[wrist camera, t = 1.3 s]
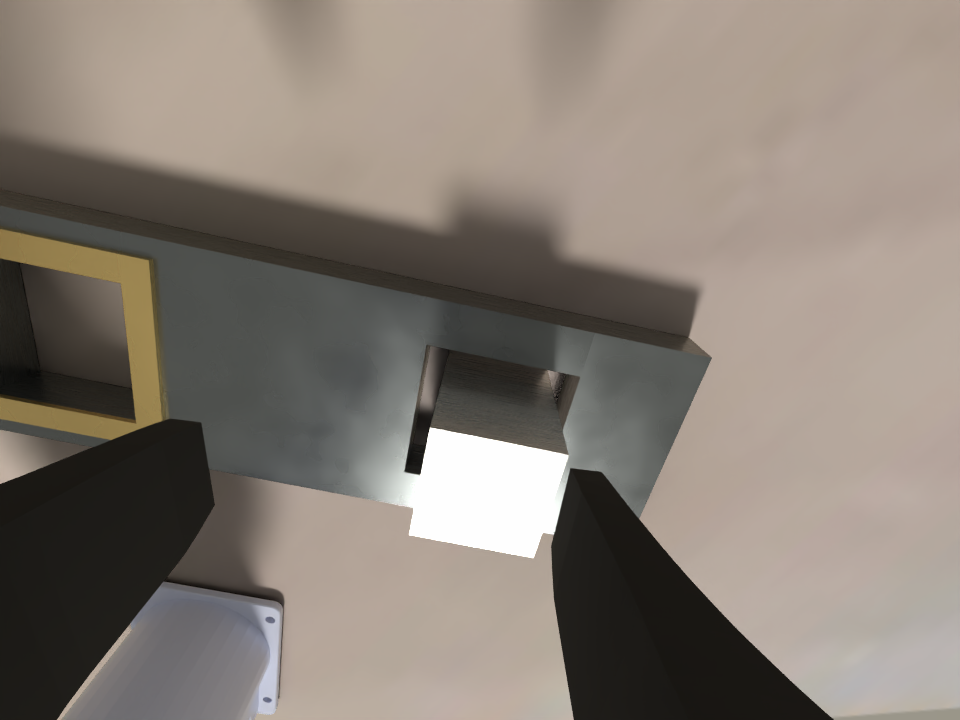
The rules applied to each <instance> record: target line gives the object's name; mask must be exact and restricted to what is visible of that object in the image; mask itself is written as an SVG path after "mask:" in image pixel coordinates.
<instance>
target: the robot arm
mask: <svg viewBox="0 0 960 720" xmlns="http://www.w3.org/2000/svg"><path fill="white" fill-rule="evenodd" d="M214 505H215V504H214V498H213V491H212V485H211V479H210V473H209V467H208V460H207V454H206V448H205V442H204V436H203V429H202V423H201V422H194V421H186V420H178V419H167V420H164V421H161V422H158V423H155V424H152V425H149V426H146V427H143V428H141V429H138V430H135V431H133V432H130V433H128V434H125V435H123V436H120V437H117V438H115V439H112V440H110V441H107V442H105V443H102V444H100V445H98V446H95V447H93V448H90V449H88V450H85V451H83V452H80V453H78V454H75V455H73V456H70V457H68V458H65V459H63V460H60V461H58V462H55V463H53V464H50V465H48V466H45V467H43V468H40V469H38V470H35V471H33V472H30V473H28V474H25V475H23V476H20V477H18V478H15V479H12V480H10V481H7V482H4V483H2V484H0V720H57V719H58V717H59V716H60V714H61V713H62V711H63V710H64V708H65V707H66V705H67V704H68V703H69V701H70V700H71V699H72V697H73V696H74V695H75V693H76V692H77V691H78V689H79V688H80V687H81V685H82V684H83V683H84V681H85V680H86V679H87V677H88V676H89V675H90V673H91V672H92V671H93V670H94V668H95V667H96V666H97V665H98V663H99V662H100V661H101V660H102V658H103V657H104V656H105V655H106V653H107V652H108V651H109V649H110V648H111V647H112V646H113V644H114V643H115V642H116V641H117V639H118V638H119V637H120V636H121V634H122V633H123V632H124V631H125V629H126V628H127V627H128V626H129V624H130V623H131V629H132V631H131V632H130V633H129V635H128V636H127V637H126V638H125V640H124V641H123V642H122V643H121V645H120V646H119V647H118V649H117V650H116V651H115V652H114V654H113V655H112V656H111V657H110V659H109V660H108V661H107V662H106V664H105V665H104V666H103V668H102V669H101V670H100V671H99V673H98V674H97V675H96V676H95V678H94V679H93V680H92V681H91V683H90V684H89V685H88V686H87V688H86V689H85V690H84V692H83V693H82V694H81V695H80V697H79V698H78V699H77V700H76V702H75V703H74V704H73V705H72V707H71V708H70V709H69V711H68V712H67V713H66V714H65V716H64V717H63V718H62V719H61V720H254V719H255V717H256V715H257V713H261V714H267V715H270V714H273V713H275V711H276V709H277V706H278V695H279V675H280V656H281V637H282V617H283V607H282V605H281V604H280V603H278V602H276V601H272V600H266V599H260V598H255V597H249V596H243V595H238V594H232V593H226V592H221V591H215V590H209V589H204V588H198V587H192V586H187V585H181V584H175V583H170V582H164V580H165V579H166V578H167V576H168V575H169V574H170V573H171V571H172V570H173V569H174V567H175V566H176V565H177V564H178V562H179V561H180V560H181V558H182V557H183V556H184V554H185V553H186V551H187V550H188V548H189V547H190V545H191V543H192V542H193V540H194V539H195V537H196V536H197V534H198V532H199V531H200V529H201V527H202V526H203V524H204V522H205V521H206V519H207V517H208V515H209V514H210V512H211V510H212V509H213V507H214ZM551 551H552V574H553V590H554V602H555V608H556V614H557V621H558V627H559V633H560V639H561V645H562V651H563V657H564V663H565V669H566V675H567V681H568V687H569V693H570V699H571V705H572V711H573V717H574V720H833V719H832V718H831V717H830V716H829V715H828V714H827V713H825V712H824V711H823V710H822V709H821V708H820V707H819V706H818V705H816V704H815V703H814V702H813V701H812V700H811V699H810V698H809V697H808V696H807V695H805V694H804V693H803V692H802V691H801V690H800V689H799V688H798V687H797V686H796V685H794V684H793V683H792V682H791V681H790V680H789V679H788V678H787V677H786V676H785V675H784V674H783V673H782V672H781V671H780V670H779V669H778V668H777V667H776V666H774V665H773V664H772V663H771V662H770V661H769V660H768V659H767V658H766V657H765V656H764V655H763V654H762V653H761V652H760V651H759V650H758V649H757V648H756V647H755V646H754V645H753V644H752V643H750V642H749V641H748V640H747V639H746V638H745V637H744V636H743V635H742V634H741V633H740V632H739V631H738V630H737V629H736V628H735V627H734V626H733V625H732V624H731V623H730V622H729V620H728V619H727V618H726V617H725V616H724V615H723V614H722V613H721V612H720V611H719V610H718V609H717V608H716V607H715V606H714V605H713V603H712V602H711V601H710V600H709V599H708V598H707V597H706V596H705V595H704V594H703V593H702V592H701V591H700V590H699V588H698V587H697V586H696V585H695V584H694V583H693V582H692V581H691V580H690V579H689V577H688V576H687V575H686V574H685V573H684V572H683V571H682V570H681V568H680V567H679V566H678V565H677V564H676V563H675V562H674V560H673V559H672V558H671V557H670V556H669V555H668V553H667V552H666V551H665V550H664V549H663V548H662V546H661V545H660V544H659V543H658V542H657V540H656V539H655V538H654V537H653V536H652V534H651V533H650V532H649V531H648V529H647V528H646V527H645V526H644V525H643V523H642V522H641V521H640V520H639V518H638V517H637V516H636V515H635V513H634V512H633V511H632V510H631V508H630V507H629V506H628V505H627V503H626V502H625V501H624V499H623V498H622V497H621V496H620V494H619V493H618V492H617V490H616V489H615V488H614V487H613V485H612V484H611V483H610V482H609V480H608V479H607V478H606V477H605V475H604V474H603V473H602V472H599V471H591V470H583V469H575V468H570V471H569V475H568V479H567V484H566V488H565V492H564V496H563V500H562V504H561V508H560V512H559V516H558V521H557V525H556V529H555V533H554V537H553V541H552V545H551Z"/></svg>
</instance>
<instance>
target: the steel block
mask: <svg viewBox="0 0 960 720" xmlns="http://www.w3.org/2000/svg"><path fill="white" fill-rule="evenodd" d="M568 456H569V454H568V450H567V446H566V442H565V438H564V434H563V430H562V426H561V422H560V418H559V414H558V410H557V406H556V402H555V398H554V394H553V390H552V386H551V382H550V378H549V374H548V370H546V369H541V368H536V367H531V366H527V365H522V364H517V363H512V362H507V361H503V360H498V359H493V358H488V357H483V356H479V355H474V354H469V353H464V352H459V351H455V350H450V352H449V356H448V359H447V363H446V367H445V371H444V375H443V379H442V383H441V387H440V391H439V394H438V398H437V402H436V406H435V410H434V414H433V418H432V422H431V426H430V430H429V435H428V440H427V445H426V451H425V456H424V461H423V466H422V471H421V476H420V481H419V487H418V492H417V497H416V502H415V507H414V512H413V518H412V523H411V528H410V533H409V535H414V536H419V537H425V538H430V539H435V540H441V541H446V542H452V543H457V544H462V545H468V546H473V547H478V548H484V549H489V550H495V551H500V552H505V553H511V554H516V555H521V556H527V557H532V558H533V557H534V554H535V551H536V548H537V545H538V543H539V540H540V537H541V534H542V531H543V528H544V525H545V522H546V520H547V517H548V514H549V511H550V508H551V505H552V502H553V499H554V497H555V494H556V491H557V488H558V485H559V482H560V479H561V476H562V474H563V471H564V468H565V465H566V462H567V459H568Z"/></svg>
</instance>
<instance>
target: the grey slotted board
mask: <svg viewBox="0 0 960 720" xmlns="http://www.w3.org/2000/svg"><path fill="white" fill-rule="evenodd" d="M19 262H21V263H25V264H30V265H35V266H40V267H45V268H49V269H54V270H59V271H64V272H69V273H74V274H78V275H83V276H88V277H93V278H98V279H102V280H107V281H112V282H117V283H121V289H122V298H123V307H124V317H125V326H126V335H127V344H128V353H129V362H130V372H131V381H132V389H130V388H125V387H120V386H115V385H110V384H105V383H100V382H95V381H90V380H85V379H80V378H75V377H69V376H64V375H59V374H54V373H49V372H44V371H40V368H39V363H38V358H37V352H36V347H35V342H34V337H33V332H32V327H31V322H30V317H29V312H28V307H27V302H26V297H25V292H24V287H23V282H22V276H21V271H20V266H19ZM430 345H431V346H435V347H440V348H445V349H450V350H455V351H459V352H464V353H469V354H474V355H479V356H483V357H488V358H493V359H498V360H503V361H507V362H512V363H517V364H522V365H527V366H531V367H536V368H541V369H546V370H551V371H555V372H560V373H565V374H566V376H565V379H564V382H563V385H562V389H561V392H560V395H559V398H558V401H557V404H556V406H557V410H558V414H559V418H560V422H561V426H562V430H563V434H564V438H565V442H566V446H567V450H568V454H569V456H568V459H567V462H566V465H565V468H564V471H563V474H562V476H561V479H560V482H559V485H558V488H557V491H556V494H555V497H554V499H553V502H552V505H551V508H550V511H549V514H548V517H547V520H546V522H545V525H544V528H543V531H542V532H543V533H549V534H554V533H555V529H556V525H557V521H558V516H559V512H560V508H561V504H562V500H563V496H564V492H565V488H566V484H567V479H568V475H569V471H570V468H575V469H583V470H591V471H599V472H602V473H603V474H604V475H605V477H606V478H607V479H608V480H609V482H610V483H611V484H612V485H613V487H614V488H615V489H616V490H617V492H618V493H619V494H620V496H621V497H622V498H623V499H624V501H625V502H626V503H627V505H628V506H629V507H630V508H631V510H632V511H633V512H634V513H635V515H636V516H637V517H638V518H640V515H641V513H642V511H643V509H644V507H645V504H646V502H647V500H648V498H649V496H650V493H651V491H652V489H653V487H654V485H655V482H656V480H657V478H658V476H659V474H660V471H661V469H662V467H663V465H664V462H665V460H666V458H667V456H668V454H669V451H670V449H671V447H672V445H673V443H674V440H675V438H676V436H677V434H678V432H679V429H680V427H681V425H682V423H683V421H684V418H685V416H686V414H687V412H688V409H689V407H690V405H691V403H692V401H693V398H694V396H695V394H696V392H697V390H698V387H699V385H700V383H701V381H702V379H703V376H704V374H705V372H706V370H707V368H708V365H709V363H710V361H711V359H712V358H711V357H710V356H709V355H708V354H707V353H706V352H705V351H704V350H702V349H701V348H700V347H699V346H698V345H697V344H696V343H694V342H693V341H692V340H691V339H690V338H687V337H683V336H678V335H673V334H669V333H664V332H659V331H655V330H650V329H645V328H641V327H636V326H632V325H627V324H622V323H618V322H613V321H608V320H604V319H599V318H594V317H590V316H585V315H580V314H576V313H571V312H567V311H562V310H557V309H553V308H548V307H543V306H539V305H534V304H529V303H525V302H520V301H515V300H511V299H506V298H501V297H497V296H492V295H488V294H483V293H478V292H474V291H469V290H464V289H460V288H455V287H450V286H446V285H441V284H436V283H432V282H427V281H423V280H418V279H413V278H409V277H404V276H399V275H395V274H390V273H385V272H381V271H376V270H371V269H367V268H362V267H358V266H353V265H348V264H344V263H339V262H334V261H330V260H325V259H320V258H316V257H311V256H306V255H302V254H297V253H292V252H288V251H283V250H279V249H274V248H269V247H265V246H260V245H255V244H251V243H246V242H241V241H237V240H232V239H227V238H223V237H218V236H214V235H209V234H204V233H200V232H195V231H190V230H186V229H181V228H176V227H172V226H167V225H162V224H158V223H153V222H148V221H144V220H139V219H135V218H130V217H125V216H121V215H116V214H111V213H107V212H102V211H97V210H93V209H88V208H83V207H79V206H74V205H70V204H65V203H60V202H56V201H51V200H46V199H42V198H37V197H32V196H28V195H23V194H18V193H14V192H9V191H5V190H0V430H5V431H11V432H16V433H21V434H26V435H32V436H37V437H42V438H48V439H53V440H58V441H63V442H69V443H74V444H79V445H84V446H90V447H95V446H98V445H100V444H102V443H105V442H107V441H110V440H112V439H115V438H117V437H120V436H123V435H125V434H128V433H130V432H133V431H135V430H138V429H141V428H143V427H146V426H149V425H152V424H155V423H158V422H161V421H164V420H167V419H178V420H186V421H194V422H201V423H202V429H203V436H204V442H205V448H206V454H207V460H208V467H209V469H211V470H216V471H222V472H227V473H232V474H237V475H243V476H248V477H253V478H258V479H264V480H269V481H274V482H280V483H285V484H290V485H295V486H301V487H306V488H311V489H316V490H322V491H327V492H332V493H338V494H343V495H348V496H353V497H359V498H364V499H369V500H375V501H380V502H385V503H390V504H396V505H401V506H406V507H411V508H414V507H415V502H416V497H417V492H418V487H419V481H420V476H421V471H422V466H423V461H424V456H425V451H426V447H425V446H420V445H415V444H413V440H414V434H415V429H416V423H417V417H418V412H419V406H420V401H421V395H422V390H423V384H424V378H425V373H426V367H427V362H428V356H429V351H430Z"/></svg>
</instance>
